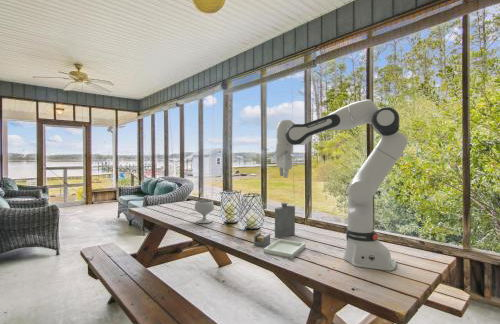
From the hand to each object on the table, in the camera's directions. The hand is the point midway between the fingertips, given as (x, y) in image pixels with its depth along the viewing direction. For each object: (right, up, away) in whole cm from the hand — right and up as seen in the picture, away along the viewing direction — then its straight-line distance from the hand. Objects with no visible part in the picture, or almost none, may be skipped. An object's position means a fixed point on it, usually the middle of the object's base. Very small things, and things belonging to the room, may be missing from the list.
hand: (283, 176), depth 148 cm
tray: (0, -38, -5) cm, 38 cm away
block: (-11, -37, +3) cm, 39 cm away
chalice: (-51, -36, +55) cm, 83 cm away
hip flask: (+3, -37, +21) cm, 43 cm away
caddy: (-11, -38, +3) cm, 40 cm away
